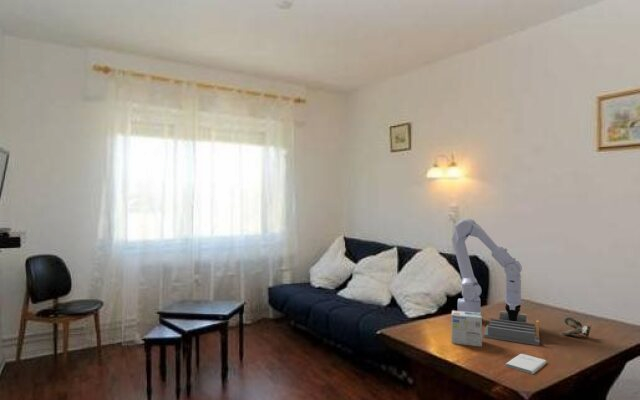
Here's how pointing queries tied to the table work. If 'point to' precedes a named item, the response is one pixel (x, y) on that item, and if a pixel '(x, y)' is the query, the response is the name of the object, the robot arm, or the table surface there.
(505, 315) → the panel
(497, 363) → the table surface
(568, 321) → the eagle figurine
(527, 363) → the external hard drive
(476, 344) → the light bulb box
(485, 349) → the table surface
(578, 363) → the table surface
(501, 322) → the slot rack
